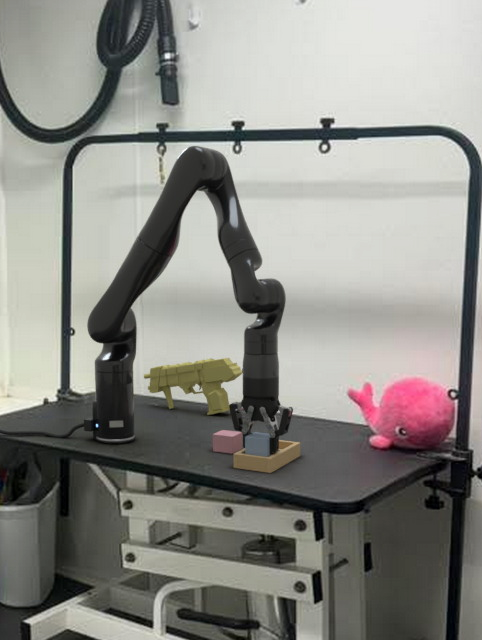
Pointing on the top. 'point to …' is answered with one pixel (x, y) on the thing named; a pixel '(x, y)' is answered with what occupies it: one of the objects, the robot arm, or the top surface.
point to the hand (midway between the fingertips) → (260, 451)
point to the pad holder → (267, 458)
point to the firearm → (196, 380)
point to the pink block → (227, 441)
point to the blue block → (258, 444)
